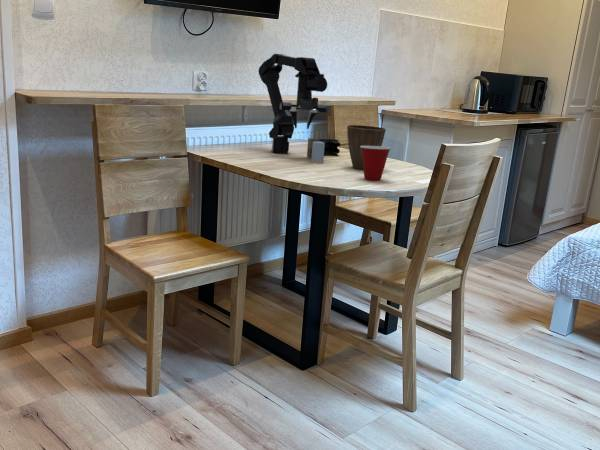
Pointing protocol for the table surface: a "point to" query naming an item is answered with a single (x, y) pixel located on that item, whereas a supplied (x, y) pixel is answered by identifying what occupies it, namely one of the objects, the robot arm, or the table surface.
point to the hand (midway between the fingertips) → (301, 128)
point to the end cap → (330, 147)
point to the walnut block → (310, 147)
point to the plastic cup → (374, 161)
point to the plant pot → (362, 141)
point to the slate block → (317, 152)
